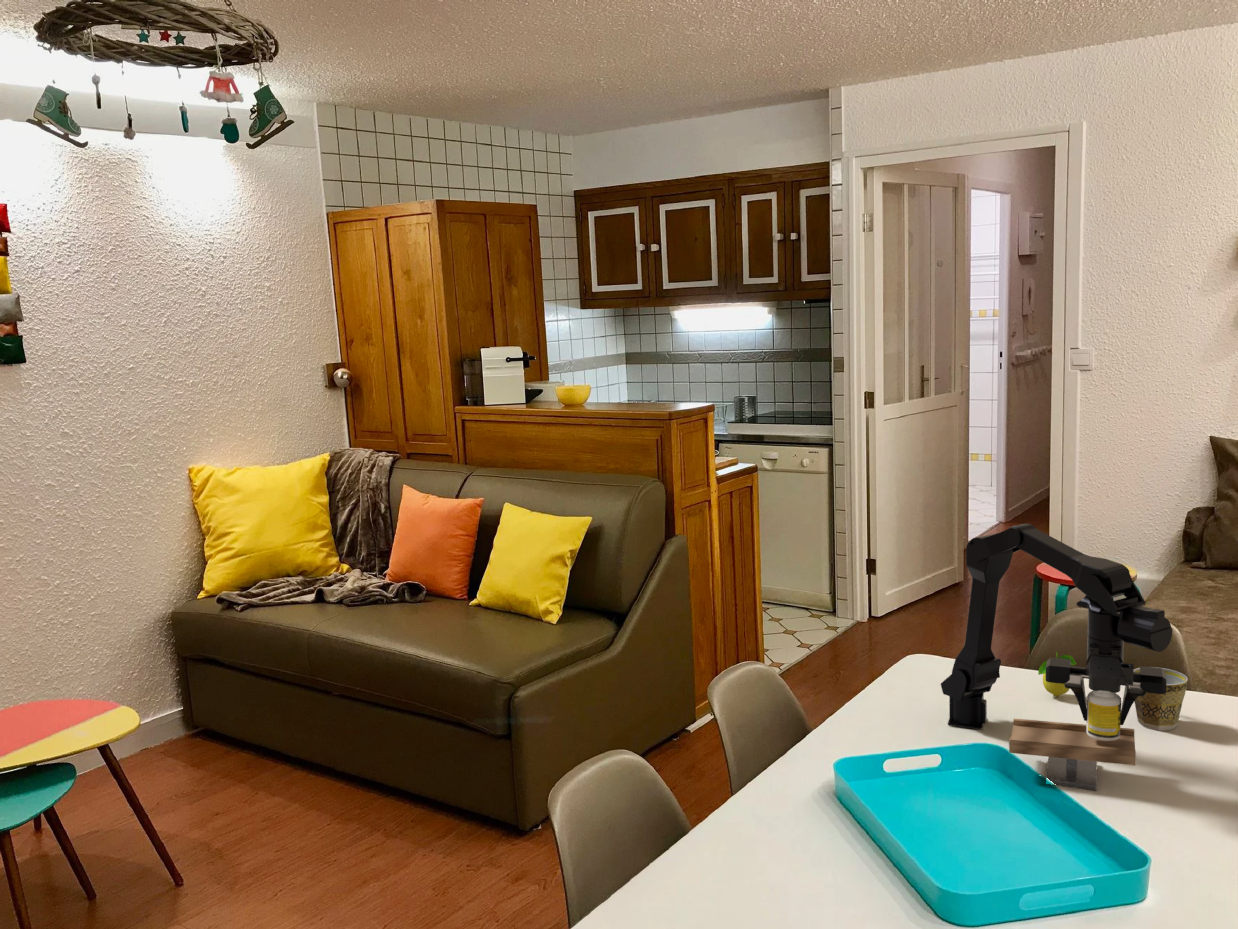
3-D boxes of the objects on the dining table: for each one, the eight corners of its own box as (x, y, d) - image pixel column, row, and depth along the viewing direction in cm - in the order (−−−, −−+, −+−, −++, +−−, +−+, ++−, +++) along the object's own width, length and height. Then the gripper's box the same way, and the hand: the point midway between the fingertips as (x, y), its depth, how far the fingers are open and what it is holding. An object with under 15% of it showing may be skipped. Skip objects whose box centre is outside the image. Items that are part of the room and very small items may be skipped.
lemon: (1076, 694, 219) (1076, 649, 217) (1071, 703, 214) (1072, 657, 212) (1042, 689, 222) (1043, 645, 221) (1037, 698, 217) (1038, 653, 216)
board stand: (1045, 784, 179) (1045, 759, 179) (1048, 758, 189) (1049, 735, 188) (1095, 791, 176) (1096, 766, 175) (1096, 764, 186) (1097, 741, 185)
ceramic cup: (1196, 733, 197) (1198, 683, 195) (1144, 735, 197) (1145, 685, 195) (1162, 707, 209) (1163, 661, 208) (1113, 709, 210) (1114, 663, 208)
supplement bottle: (1124, 742, 176) (1125, 688, 175) (1090, 741, 177) (1091, 687, 176) (1115, 730, 181) (1116, 677, 180) (1083, 729, 182) (1083, 676, 181)
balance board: (1009, 752, 182) (1009, 739, 181) (1014, 731, 191) (1013, 718, 190) (1135, 765, 173) (1135, 751, 173) (1134, 742, 182) (1134, 729, 182)
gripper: (1044, 645, 173) (1043, 732, 176) (1169, 656, 165) (1166, 748, 168) (1048, 626, 183) (1046, 709, 186) (1166, 636, 175) (1163, 722, 178)
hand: (1103, 722), depth 179 cm, fingers closed on supplement bottle, 5 cm apart
